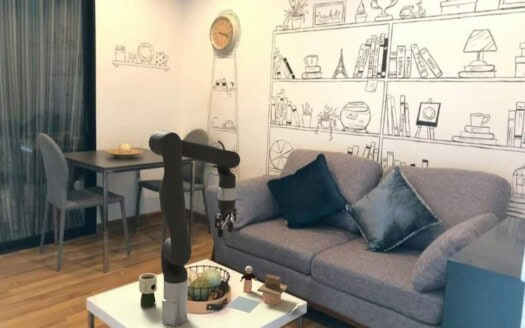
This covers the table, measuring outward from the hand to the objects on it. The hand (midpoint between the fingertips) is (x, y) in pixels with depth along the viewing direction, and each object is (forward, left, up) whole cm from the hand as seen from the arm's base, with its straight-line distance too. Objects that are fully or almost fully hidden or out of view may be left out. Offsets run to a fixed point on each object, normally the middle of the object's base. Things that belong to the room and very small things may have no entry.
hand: (225, 234), depth 186 cm
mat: (0, -10, -30) cm, 31 cm away
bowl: (+9, -19, -30) cm, 36 cm away
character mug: (-20, +25, -30) cm, 44 cm away
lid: (+9, -19, -24) cm, 32 cm away
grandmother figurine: (+12, -6, -30) cm, 33 cm away
